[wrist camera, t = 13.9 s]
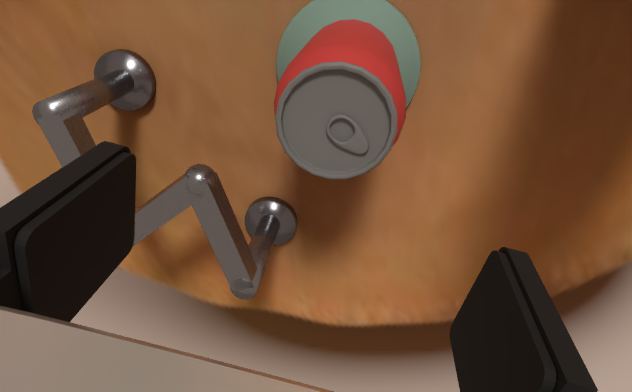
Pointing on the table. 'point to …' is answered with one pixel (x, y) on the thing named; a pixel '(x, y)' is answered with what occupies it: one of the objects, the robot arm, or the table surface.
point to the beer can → (341, 101)
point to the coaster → (360, 4)
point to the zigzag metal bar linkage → (190, 189)
